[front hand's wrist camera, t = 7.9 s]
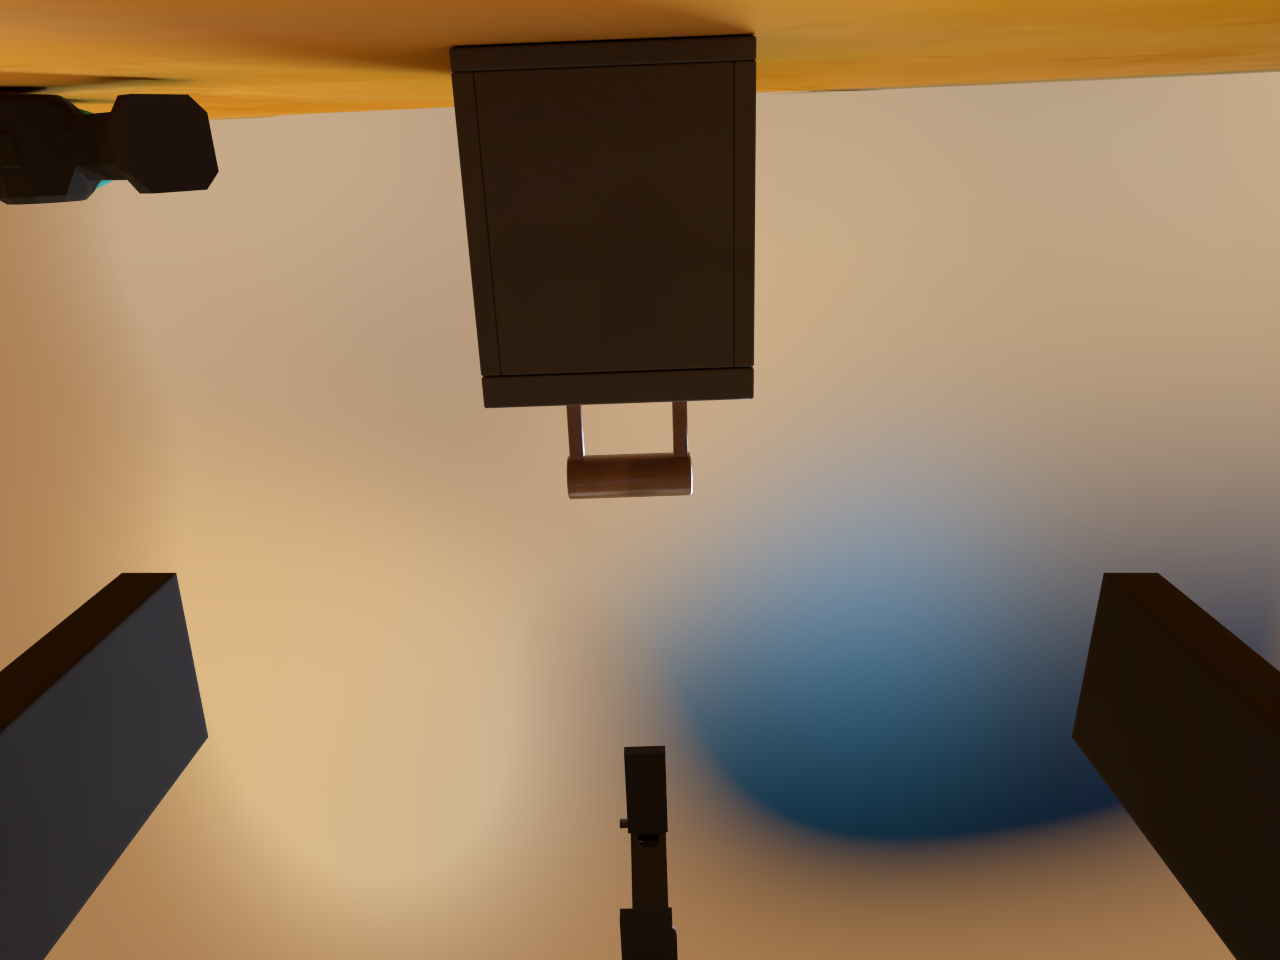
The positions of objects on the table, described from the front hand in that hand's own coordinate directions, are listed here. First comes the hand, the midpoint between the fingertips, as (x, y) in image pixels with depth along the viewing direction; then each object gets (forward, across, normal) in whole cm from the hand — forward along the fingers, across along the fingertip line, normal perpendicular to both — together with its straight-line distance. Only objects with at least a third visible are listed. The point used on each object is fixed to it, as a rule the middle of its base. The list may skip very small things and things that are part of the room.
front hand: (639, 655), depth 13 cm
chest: (+27, +1, -10) cm, 29 cm away
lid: (+27, +1, +1) cm, 27 cm away
